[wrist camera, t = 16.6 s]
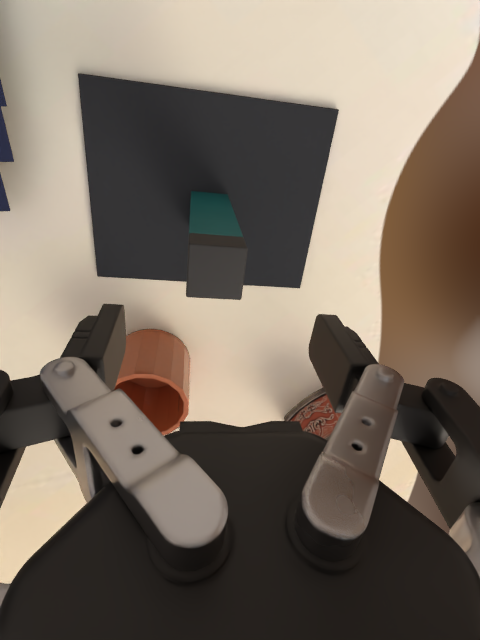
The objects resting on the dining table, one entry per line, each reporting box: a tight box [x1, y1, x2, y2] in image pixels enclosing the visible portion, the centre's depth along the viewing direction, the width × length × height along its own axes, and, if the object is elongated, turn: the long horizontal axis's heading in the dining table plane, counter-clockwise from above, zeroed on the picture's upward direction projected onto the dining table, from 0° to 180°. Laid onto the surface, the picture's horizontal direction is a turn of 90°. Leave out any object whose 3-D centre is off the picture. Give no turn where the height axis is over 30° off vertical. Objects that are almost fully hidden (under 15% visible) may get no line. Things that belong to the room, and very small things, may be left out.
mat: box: [78, 74, 339, 288], centre depth 31 cm, size 20×16×1 cm
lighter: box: [285, 388, 341, 440], centre depth 42 cm, size 8×3×10 cm, turn 135°
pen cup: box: [114, 329, 190, 435], centre depth 37 cm, size 8×8×8 cm
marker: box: [186, 191, 248, 300], centre depth 26 cm, size 3×3×14 cm
